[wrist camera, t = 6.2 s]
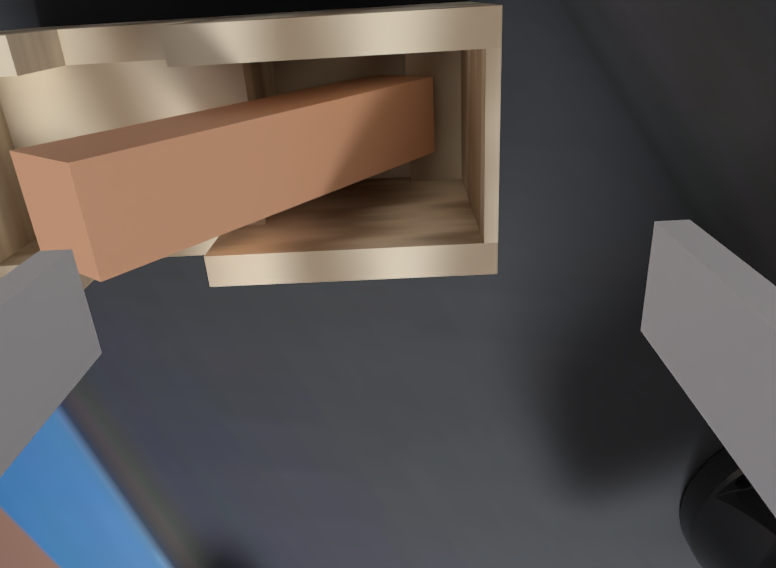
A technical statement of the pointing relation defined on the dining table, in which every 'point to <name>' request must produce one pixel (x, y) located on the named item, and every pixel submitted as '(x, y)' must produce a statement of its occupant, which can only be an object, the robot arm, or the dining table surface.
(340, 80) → the box
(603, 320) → the dining table surface
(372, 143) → the tan block
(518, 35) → the dining table surface
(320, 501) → the dining table surface
